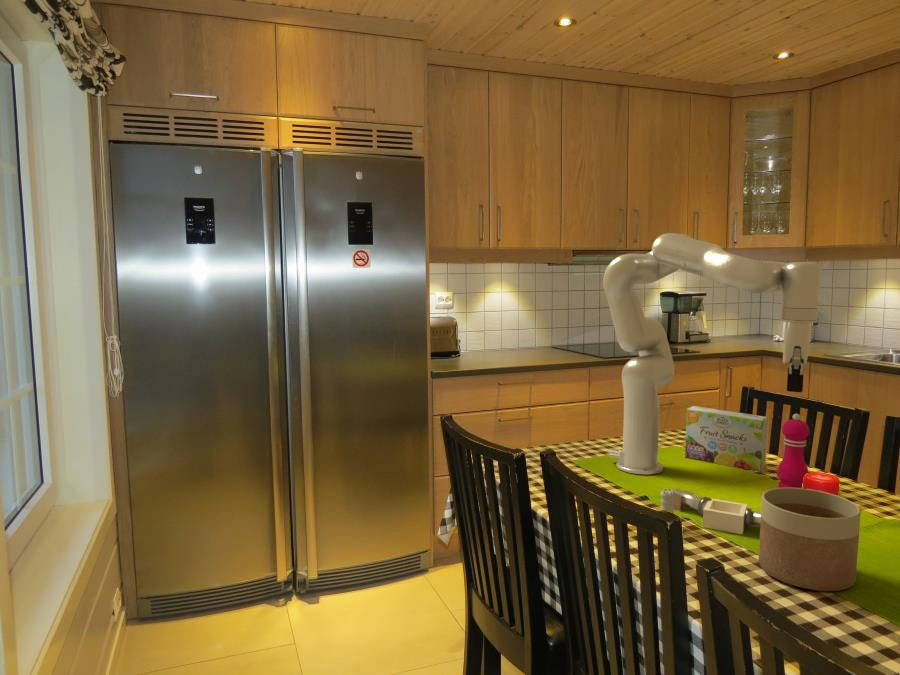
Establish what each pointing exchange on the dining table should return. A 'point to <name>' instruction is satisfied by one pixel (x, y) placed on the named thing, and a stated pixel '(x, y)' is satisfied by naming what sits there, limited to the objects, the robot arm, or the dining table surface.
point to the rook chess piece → (667, 500)
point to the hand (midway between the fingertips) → (794, 388)
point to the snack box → (726, 438)
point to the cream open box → (724, 516)
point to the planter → (809, 538)
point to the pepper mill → (793, 454)
